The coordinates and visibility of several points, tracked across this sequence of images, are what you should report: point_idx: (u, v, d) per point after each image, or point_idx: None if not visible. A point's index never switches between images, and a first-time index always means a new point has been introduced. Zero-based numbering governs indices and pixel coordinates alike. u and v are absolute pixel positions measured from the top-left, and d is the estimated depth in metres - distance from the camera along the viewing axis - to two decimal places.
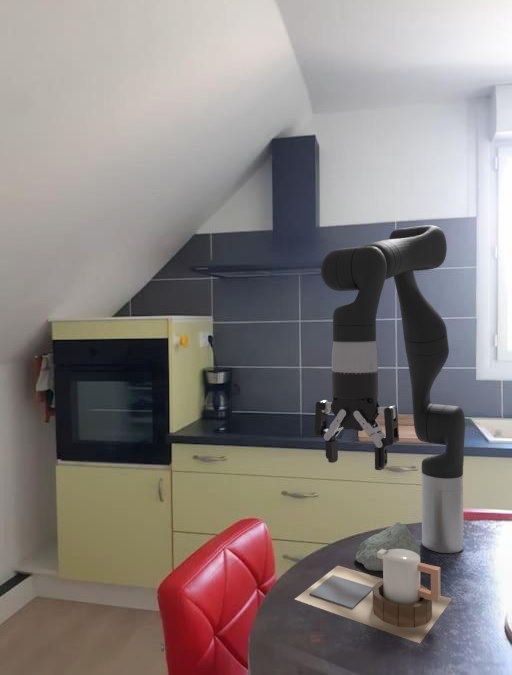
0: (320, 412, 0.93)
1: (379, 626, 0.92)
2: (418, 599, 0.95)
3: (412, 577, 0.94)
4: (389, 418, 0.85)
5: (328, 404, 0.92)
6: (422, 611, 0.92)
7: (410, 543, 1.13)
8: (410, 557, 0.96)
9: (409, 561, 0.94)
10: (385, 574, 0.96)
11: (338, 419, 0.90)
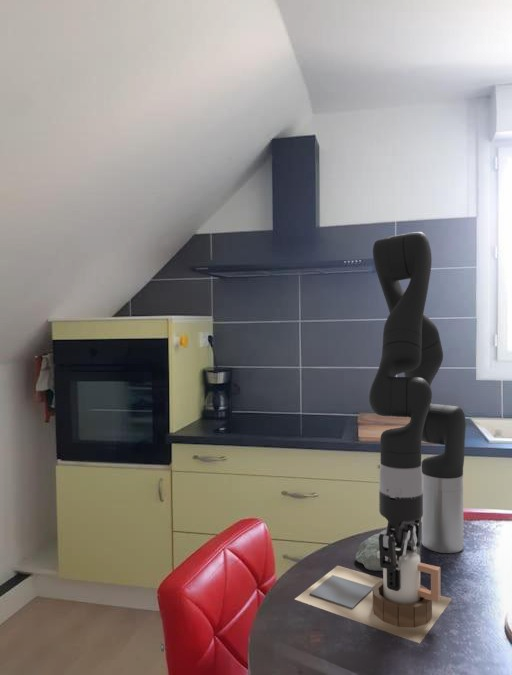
0: (394, 546, 0.91)
1: (379, 626, 0.92)
2: (418, 599, 0.95)
3: (413, 577, 0.94)
4: (420, 524, 1.01)
5: (392, 534, 0.92)
6: (422, 611, 0.92)
7: None
8: (410, 557, 0.96)
9: (409, 561, 0.94)
10: (385, 574, 0.96)
11: (405, 542, 0.94)
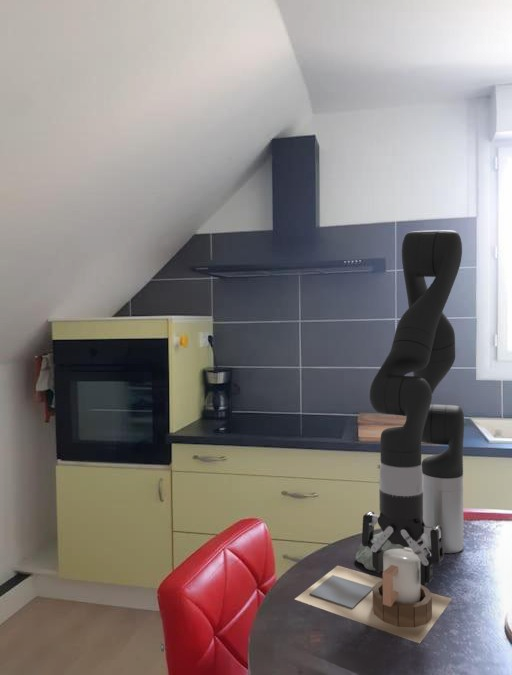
0: (367, 525, 0.99)
1: (379, 626, 0.92)
2: None
3: None
4: (435, 540, 0.91)
5: (375, 517, 0.99)
6: (422, 611, 0.92)
7: None
8: (400, 559, 0.95)
9: (390, 558, 0.96)
10: None
11: (385, 534, 0.96)
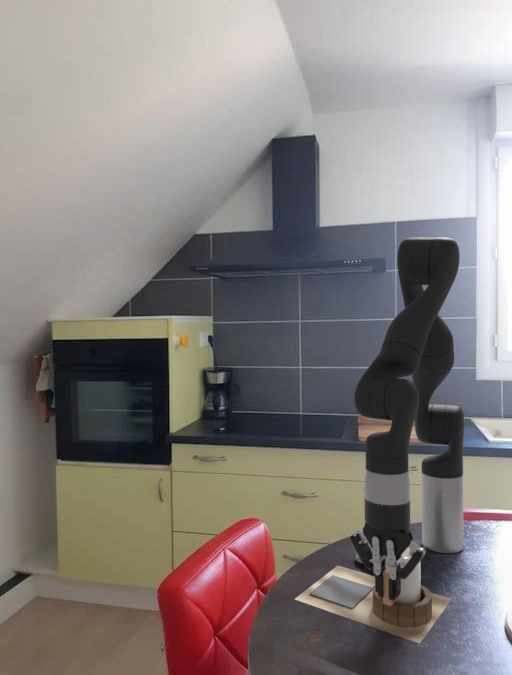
0: (358, 544, 0.93)
1: (379, 626, 0.92)
2: None
3: None
4: (415, 561, 0.87)
5: (361, 533, 0.94)
6: (422, 611, 0.92)
7: None
8: None
9: None
10: None
11: (375, 548, 0.91)
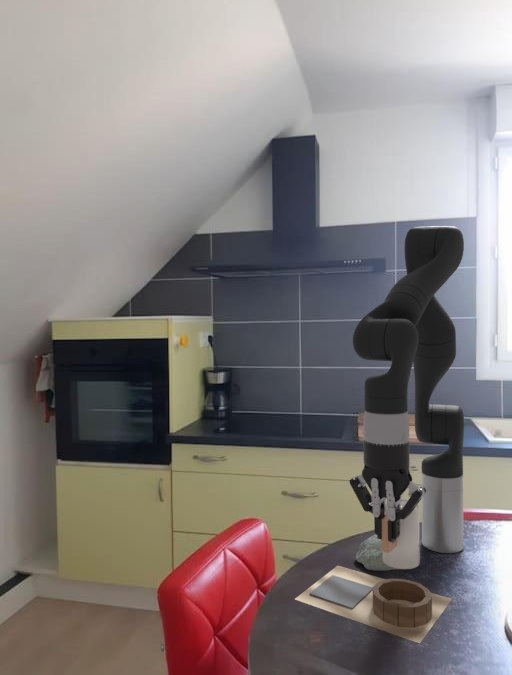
0: (357, 488, 0.93)
1: (379, 626, 0.92)
2: None
3: None
4: (414, 500, 0.87)
5: (360, 476, 0.94)
6: (422, 611, 0.92)
7: None
8: None
9: None
10: None
11: (375, 490, 0.91)
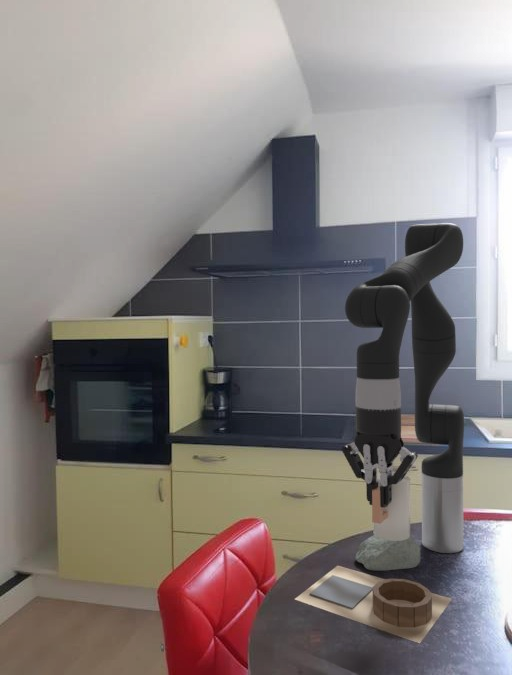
0: (350, 455, 0.94)
1: (379, 626, 0.92)
2: (383, 520, 0.94)
3: None
4: (406, 465, 0.88)
5: (352, 444, 0.94)
6: (422, 611, 0.92)
7: (410, 543, 1.13)
8: None
9: None
10: None
11: (367, 456, 0.91)
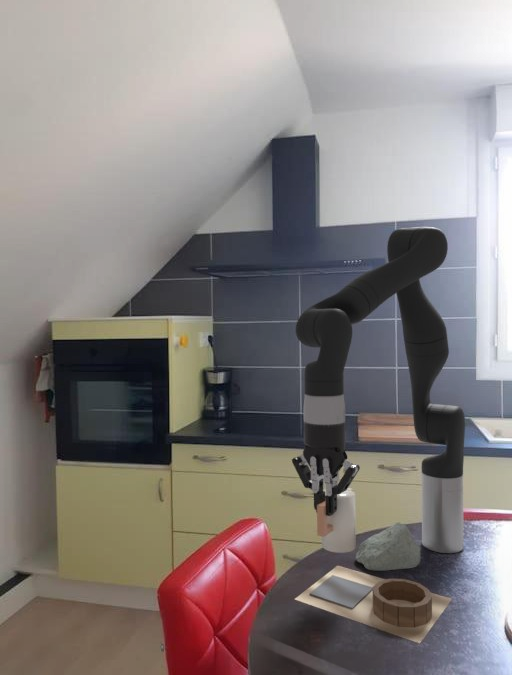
0: (299, 466, 1.00)
1: (379, 626, 0.92)
2: (329, 533, 1.00)
3: None
4: (348, 476, 0.94)
5: (301, 456, 1.01)
6: (422, 611, 0.92)
7: (410, 543, 1.13)
8: None
9: None
10: None
11: (313, 467, 0.98)
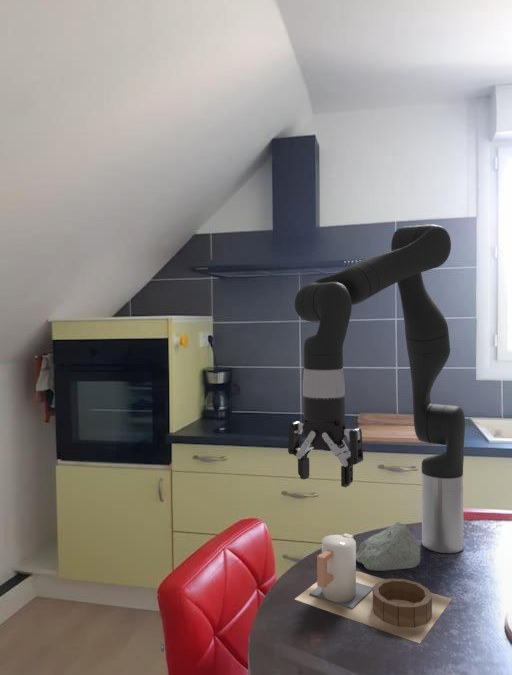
0: (293, 433, 1.01)
1: (379, 626, 0.92)
2: (329, 582, 1.00)
3: None
4: (353, 440, 0.93)
5: (300, 425, 1.01)
6: (422, 611, 0.92)
7: (410, 543, 1.13)
8: (336, 545, 1.01)
9: (327, 543, 1.02)
10: None
11: (308, 440, 0.98)
